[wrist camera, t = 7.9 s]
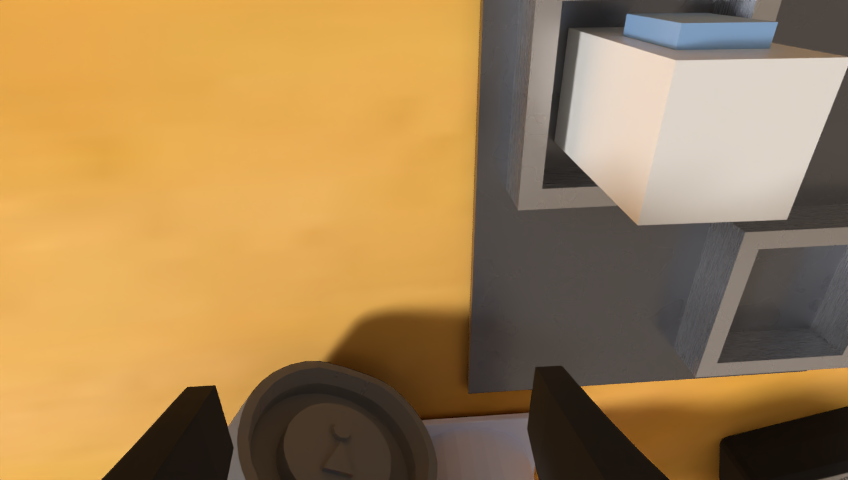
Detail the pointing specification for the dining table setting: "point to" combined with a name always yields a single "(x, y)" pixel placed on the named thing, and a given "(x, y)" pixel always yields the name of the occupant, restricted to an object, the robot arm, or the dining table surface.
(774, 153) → the plug
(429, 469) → the bluetooth speaker
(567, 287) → the panel
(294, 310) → the dining table surface
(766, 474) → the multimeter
